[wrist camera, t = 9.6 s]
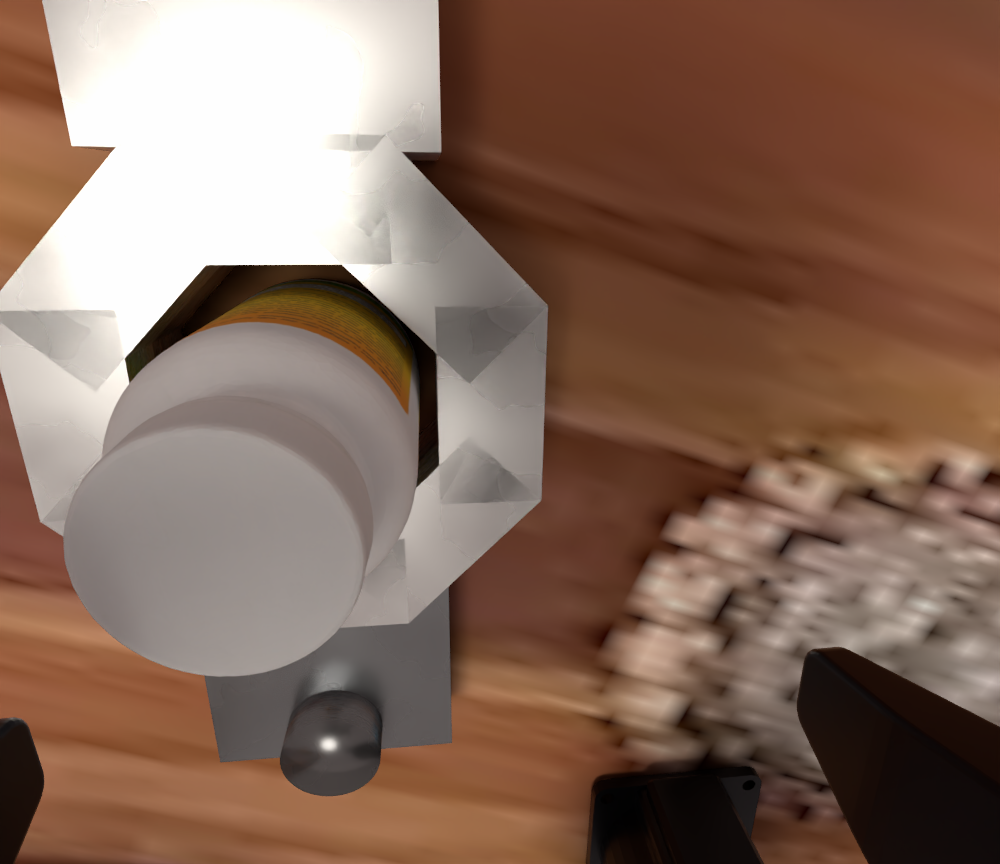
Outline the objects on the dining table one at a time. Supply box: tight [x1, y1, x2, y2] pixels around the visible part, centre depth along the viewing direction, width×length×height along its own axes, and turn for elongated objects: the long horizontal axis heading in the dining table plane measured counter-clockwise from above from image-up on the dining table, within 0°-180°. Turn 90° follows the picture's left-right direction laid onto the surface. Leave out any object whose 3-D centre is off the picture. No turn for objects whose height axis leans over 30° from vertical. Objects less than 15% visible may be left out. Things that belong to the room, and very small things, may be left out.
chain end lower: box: [152, 265, 452, 796], centre depth 17 cm, size 18×12×3 cm, turn 179°
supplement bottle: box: [63, 279, 420, 677], centre depth 13 cm, size 5×5×10 cm
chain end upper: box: [0, 0, 548, 628], centre depth 15 cm, size 18×12×4 cm, turn 179°
